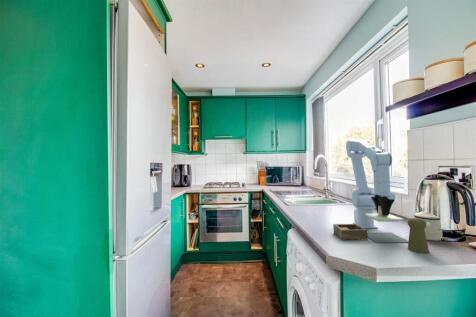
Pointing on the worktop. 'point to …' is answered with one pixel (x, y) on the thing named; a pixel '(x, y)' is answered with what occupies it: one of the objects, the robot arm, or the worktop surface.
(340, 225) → the box
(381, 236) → the slate mat
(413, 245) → the olive pepper mill
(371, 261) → the worktop surface
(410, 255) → the worktop surface
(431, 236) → the teacup with lid
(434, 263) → the worktop surface
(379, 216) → the lid
